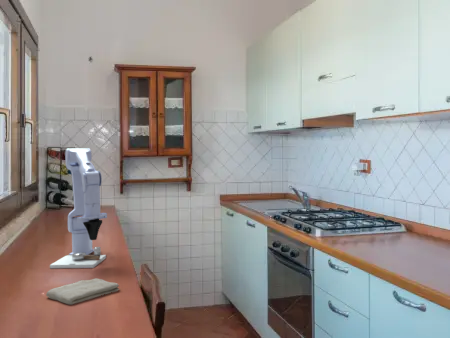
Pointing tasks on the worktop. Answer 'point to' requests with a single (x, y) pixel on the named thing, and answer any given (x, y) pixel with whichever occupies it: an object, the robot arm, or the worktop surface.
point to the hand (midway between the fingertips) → (93, 239)
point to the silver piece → (83, 255)
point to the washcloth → (82, 291)
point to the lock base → (76, 262)
